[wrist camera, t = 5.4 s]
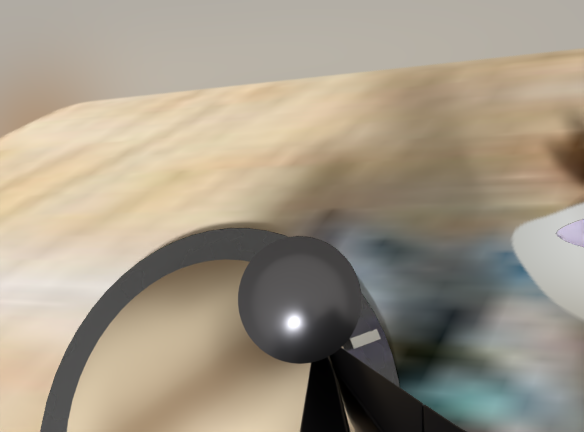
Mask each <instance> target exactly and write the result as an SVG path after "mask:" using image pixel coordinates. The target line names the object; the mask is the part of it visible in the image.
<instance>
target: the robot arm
mask: <svg viewBox="0 0 584 432" xmlns="http://www.w3.org/2000/svg"><path fill="white" fill-rule="evenodd" d="M344 407H345V408H344ZM345 410H346V412H347V415H348V417H349V419H350V422H351V424H352V426H353V428H354V430H355V432H466V431H465V430H463V429H461V428H460V427H458V426H456V425H455V424H453V423H452V422H450V421H449V420H447V419H446V418H444V417H443V416H441V415H440V414H438V413H437V412H435V411H434V410H432V409H431V408H429V407H428V406H426V405H423V403H421V402H420V401H419V400H417V399H416V398H414V397H413V396H411V395H410V394H408V393H407V392H406V391H404V390H403V389H401V388H400V387H398V386H397V385H395V384H394V383H392V382H391V381H390V380H388V379H387V378H385V377H384V376H382V375H381V374H379V373H378V372H377V371H375V370H374V369H372V368H371V367H369V366H368V365H366V364H365V363H364V362H362V361H361V360H359V359H358V358H356V357H355V356H353V355H352V354H351V353H349V352H348V351H346V350H345V349H343V348H342V347H341V348H340V349H339V350H338V351H336V352H335V353H334V354H332V355H330V356H328V357H327V358H324V359H322V360H319V361H316V362H312V363H311V366H310V372H309V378H308V384H307V390H306V396H305V403H304V409H303V415H302V421H301V427H300V432H350V428H349V424H348V420H347V416H346V412H345Z"/></svg>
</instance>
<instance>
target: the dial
mask: <svg viewBox="0 0 584 432" xmlns="http://www.w3.org/2000/svg"><path fill="white" fill-rule="evenodd" d="M360 311H361V290H360V284H359V281H358V278H357V276H356V273H355V271H354V269H353V268H352V266H351V264H350V263H349V261H348V260H347V259H346V258H345V256H343V255H342V254H341V253H340V252H339V251H338V250H337V249H336V248H334V247H333V246H331V245H329V244H328V243H326V242H323V241H321V240H318V239H315V238H311V237H303V236H295V237H288V238H283V239H280V240H277V241H275V242H273V243H271V244H269V245H267V246H266V247H264V248H263V249H262V250H261V251H259V252H258V253H257V254H256V255H255V256H254V257H253V258H252V260H251V261H250V262H248V261H242V260H226V259H224V260H213V261H206V262H201V263H197V264H193V265H190V266H187V267H184V268H181V269H178V270H176V271H174V272H172V273H170V274H168V275H166V276H164V277H162V278H161V279H159V280H157V281H156V282H154V283H153V284H151V285H149V286H148V287H147V288H146V289H144V290H143V291H142V292H140V293H139V294H138V295H137V296H135V297H134V298H133V299H132V300H131V301H130V302H129V303H128V304H127V305H126V306H125V307H124V308H123V309H122V310H121V311H120V312H119V313H118V315H117V316H116V317H115V318H114V319H113V321H112V322H111V323H110V324H109V326H108V327H107V328H106V330H105V331H104V333H103V334H102V336H101V337H100V339H99V340H98V342H97V344H96V345H95V347H94V349H93V351H92V353H91V354H90V356H89V358H88V360H87V362H86V365H85V367H84V369H83V372H82V374H81V376H80V379H79V382H78V385H77V388H76V391H75V394H74V397H73V401H72V405H71V410H70V415H69V419H68V426H67V432H300V427H301V421H302V415H303V409H304V403H305V396H306V390H307V384H308V378H309V372H310V366H311V363H312V362H316V361H319V360H322V359H324V358H327V357H328V356H330V355H332V354H334V353H335V352H336V351H338V350H339V349H340V348H341V347H342V348H343V345H344V344H345V343H346V342H347V341H348V339H349V338H350V336H351V335H352V333H353V331H354V330H355V328H356V325H357V323H358V320H359V316H360ZM343 349H344V348H343ZM344 408H345V407H344ZM345 412H346V410H345ZM346 416H347V420H348V424H349V428H350V432H355V430H354V428H353V426H352V424H351V422H350V419H349V417H348V415H347V412H346Z"/></svg>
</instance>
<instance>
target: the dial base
mask: <svg viewBox="0 0 584 432" xmlns="http://www.w3.org/2000/svg"><path fill="white" fill-rule="evenodd" d="M283 238H288V237H287V236H285V235H282V234H278V233H274V232H270V231H266V230H258V229H250V228H227V229H219V230H211V231H207V232H203V233H199V234H195V235H191V236H189V237H186V238H183V239H181V240H178V241H175V242H173V243H171V244H169V245H167V246H165V247H163V248H161V249H159V250H157V251H155V252H154V253H152V254H151V255H149V256H148V257H146V258H145V259H143V260H141V261H140V262H139V263H137V264H136V265H135V266H134V267H132V268H131V269H130V270H129V271H127V272H126V273H125V274H124V275H122V276H121V277H120V278H119V279H118V280H117V281H116V282H115V283H114V284H113V285H112V286H111V287H110V288H109V289H108V290H107V291H106V292H105V294H104V295H103V296H102V297H101V298H100V300H99V301H98V302H97V303H96V304H95V305H94V307H93V308H92V309H91V311H90V312H89V314H88V315H87V316H86V318H85V319H84V321H83V322H82V324H81V325H80V327H79V328H78V330H77V332H76V333H75V335H74V337H73V339H72V341H71V342H70V344H69V346H68V348H67V350H66V352H65V354H64V356H63V358H62V361H61V363H60V365H59V368H58V370H57V372H56V375H55V377H54V381H53V384H52V387H51V390H50V393H49V396H48V399H47V402H46V407H45V412H44V416H43V421H42V426H41V430H40V432H67V426H68V419H69V415H70V410H71V405H72V401H73V397H74V394H75V391H76V388H77V385H78V382H79V379H80V376H81V374H82V372H83V369H84V367H85V365H86V362H87V360H88V358H89V356H90V354H91V353H92V351H93V349H94V347H95V345H96V344H97V342H98V340H99V339H100V337H101V336H102V334H103V333H104V331H105V330H106V328H107V327H108V326H109V324H110V323H111V322H112V321H113V319H114V318H115V317H116V316H117V315H118V313H119V312H120V311H121V310H122V309H123V308H124V307H125V306H126V305H127V304H128V303H129V302H130V301H131V300H132V299H133V298H134V297H135V296H137V295H138V294H139V293H140V292H142V291H143V290H144V289H146V288H147V287H148V286H149V285H151V284H153V283H154V282H156V281H157V280H159V279H161V278H162V277H164V276H166V275H168V274H170V273H172V272H174V271H176V270H178V269H181V268H184V267H187V266H190V265H193V264H197V263H201V262H206V261H213V260H224V259H226V260H242V261H248V262H250V261H251V260H252V258H253V257H254V256H255V255H256V254H257V253H258V252H259V251H261V250H262V249H263V248H264V247H266V246H267V245H269V244H271V243H273V242H275V241H277V240H280V239H283ZM343 348H344V349H345V350H346V351H348V352H349V353H351V354H352V355H353V356H355V357H356V358H358V359H359V360H361V361H362V362H364V363H365V364H366V365H368V366H369V367H371V368H372V369H374V370H375V371H377V372H378V373H379V374H381V375H382V376H384V377H385V378H387V379H388V380H390V381H391V382H392V383H394V384H395V385H397V386H398V387H399V380H398V376H397V372H396V368H395V364H394V360H393V356H392V353H391V350H390V348H389V345H388V342H387V339H386V337H385V334H384V331H383V329H382V327H381V325H380V323H379V321H378V319H377V317H376V315H375V313H374V311H373V310H372V308H371V307H370V305H369V304H368V302H367V301H366V299H365V298H364V296H363V295H362V293H361V311H360V316H359V320H358V323H357V325H356V328H355V330H354V331H353V333H352V335H351V336H350V338H349V339H348V341H347V342H346V343H345V344H344V345H343Z"/></svg>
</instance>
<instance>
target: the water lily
mask: <svg viewBox="0 0 584 432" xmlns="http://www.w3.org/2000/svg"><path fill="white" fill-rule="evenodd" d="M556 234H557V236H558V237H560V238H561V239H563V240H565V241H567V242H569V243H572V244H575V245H578V246H582V247H584V219H582V220H578V221H575V222H573V223H570V224H568V225H566V226H564V227H562V228H560V229H559V230H558V231H557V232H556Z"/></svg>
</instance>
